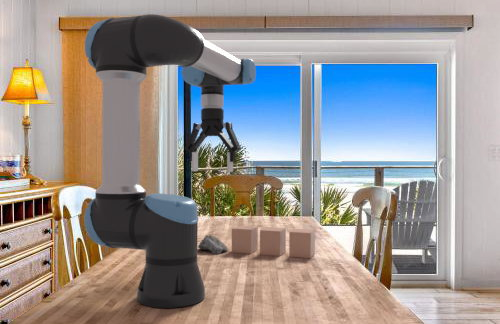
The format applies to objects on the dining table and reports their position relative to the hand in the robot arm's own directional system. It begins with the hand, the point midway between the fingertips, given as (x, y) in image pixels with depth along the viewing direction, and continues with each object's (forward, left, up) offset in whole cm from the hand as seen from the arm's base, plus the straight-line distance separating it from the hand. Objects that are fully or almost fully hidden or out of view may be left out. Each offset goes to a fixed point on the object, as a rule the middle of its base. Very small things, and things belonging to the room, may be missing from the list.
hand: (212, 171), depth 157 cm
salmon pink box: (+6, -30, -27) cm, 41 cm away
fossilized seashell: (+3, +1, -28) cm, 28 cm away
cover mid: (+6, -20, -27) cm, 34 cm away
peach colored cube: (+6, -10, -27) cm, 29 cm away
